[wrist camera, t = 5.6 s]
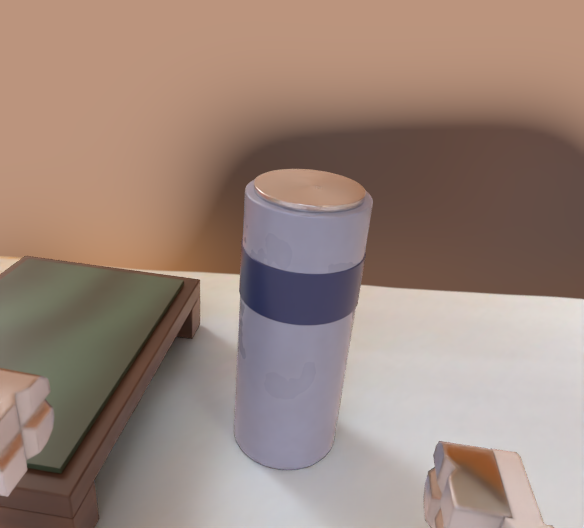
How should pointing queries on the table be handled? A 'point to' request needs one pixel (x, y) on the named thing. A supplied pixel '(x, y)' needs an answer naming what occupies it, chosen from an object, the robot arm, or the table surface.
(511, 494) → the robot arm
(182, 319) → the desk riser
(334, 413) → the slim drink can
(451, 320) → the table surface
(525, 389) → the table surface
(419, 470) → the table surface
